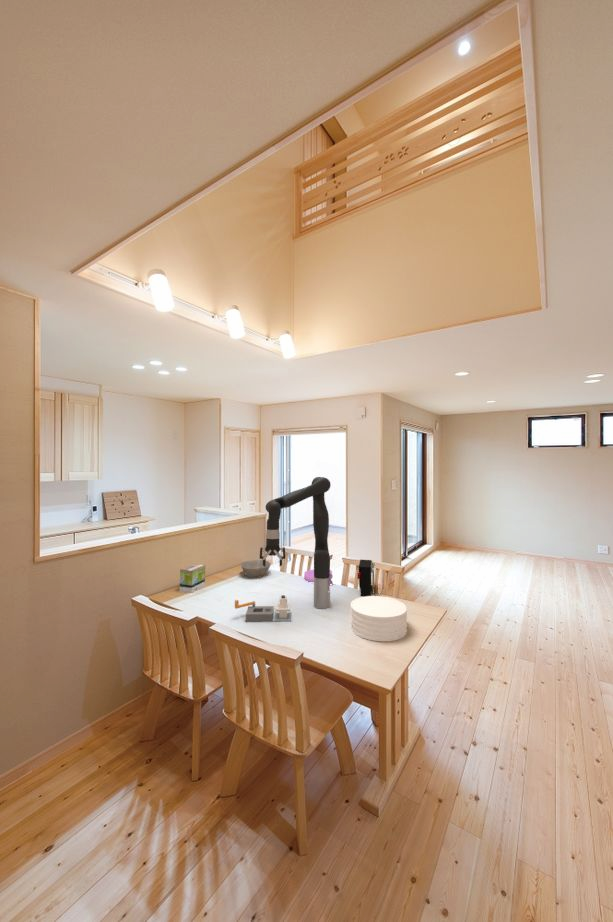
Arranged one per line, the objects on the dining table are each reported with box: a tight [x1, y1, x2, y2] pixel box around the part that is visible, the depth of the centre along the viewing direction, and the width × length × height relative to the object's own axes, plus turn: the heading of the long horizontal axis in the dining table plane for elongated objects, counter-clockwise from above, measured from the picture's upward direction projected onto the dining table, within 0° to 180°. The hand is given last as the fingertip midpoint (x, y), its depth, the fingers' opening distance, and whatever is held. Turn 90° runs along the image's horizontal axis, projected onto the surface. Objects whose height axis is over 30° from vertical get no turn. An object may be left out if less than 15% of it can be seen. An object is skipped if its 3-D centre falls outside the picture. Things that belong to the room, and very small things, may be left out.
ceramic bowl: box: [239, 559, 272, 579], centre depth 271 cm, size 22×23×10 cm
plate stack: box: [350, 595, 408, 642], centre depth 188 cm, size 28×28×12 cm
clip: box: [234, 599, 256, 609], centre depth 202 cm, size 2×12×5 cm, turn 126°
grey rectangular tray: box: [245, 605, 275, 623], centre depth 200 cm, size 14×11×4 cm
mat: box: [273, 611, 292, 623], centre depth 200 cm, size 9×11×1 cm
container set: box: [303, 569, 334, 585], centre depth 257 cm, size 25×15×13 cm, turn 36°
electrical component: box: [357, 559, 375, 597], centre depth 236 cm, size 18×10×20 cm, turn 168°
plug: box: [275, 595, 291, 618], centre depth 200 cm, size 7×7×11 cm
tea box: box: [179, 563, 206, 594], centre depth 246 cm, size 15×10×15 cm, turn 162°
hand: (272, 566), depth 205 cm, fingers open, 8 cm apart
